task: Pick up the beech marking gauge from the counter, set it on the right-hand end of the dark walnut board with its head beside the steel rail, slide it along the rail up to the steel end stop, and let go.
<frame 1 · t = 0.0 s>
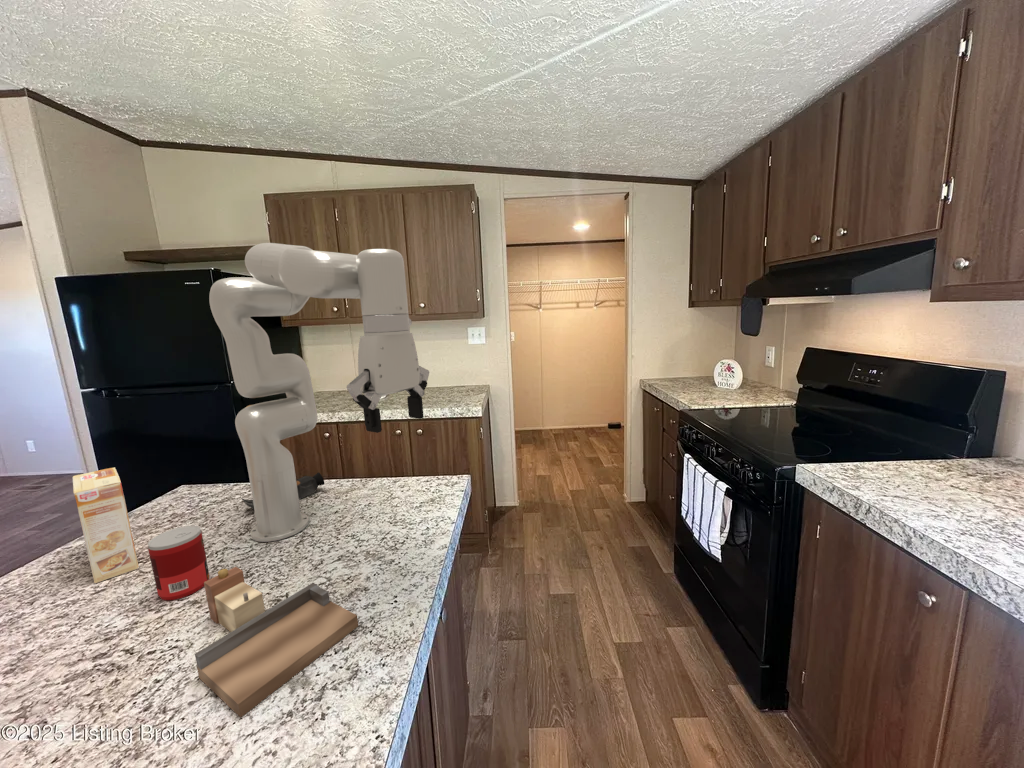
hand: (396, 424, 73), 31 cm above the counter, fingers open, 9 cm apart
canned food: (185, 588, 80), on the counter
gauge: (239, 618, 71), on the counter
hammer: (287, 501, 118), on the counter
coffeecake box: (114, 563, 90), on the counter
board: (284, 650, 64), on the counter
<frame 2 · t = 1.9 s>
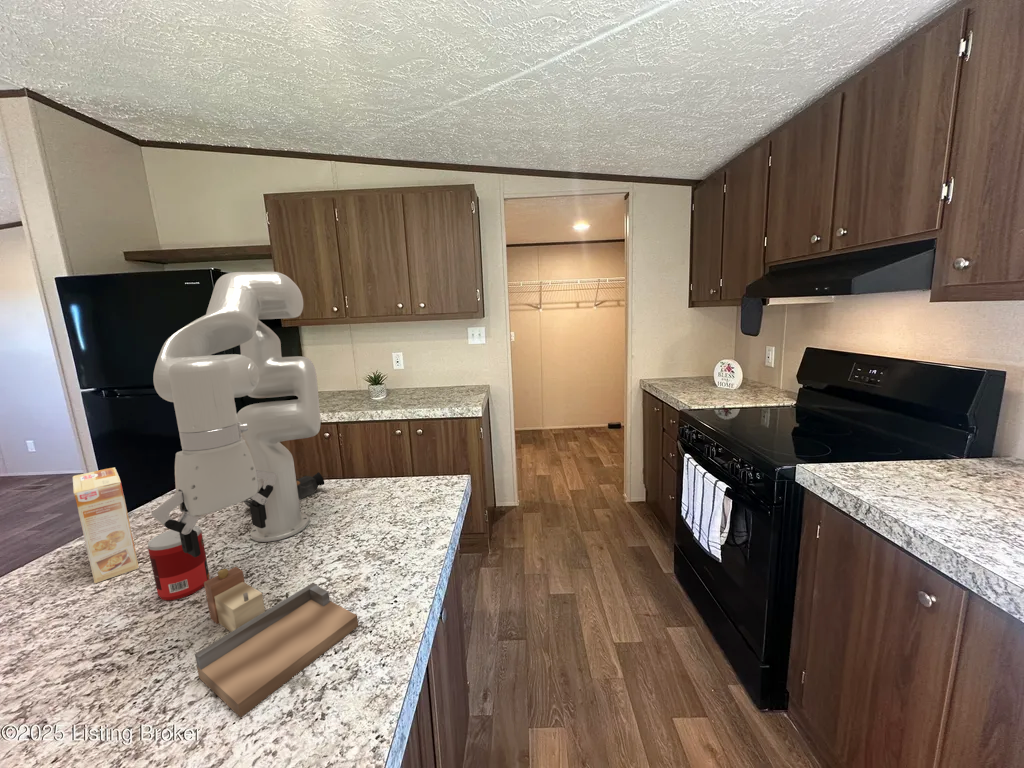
hand: (228, 539, 68), 15 cm above the counter, fingers open, 9 cm apart
nothing on the counter moved.
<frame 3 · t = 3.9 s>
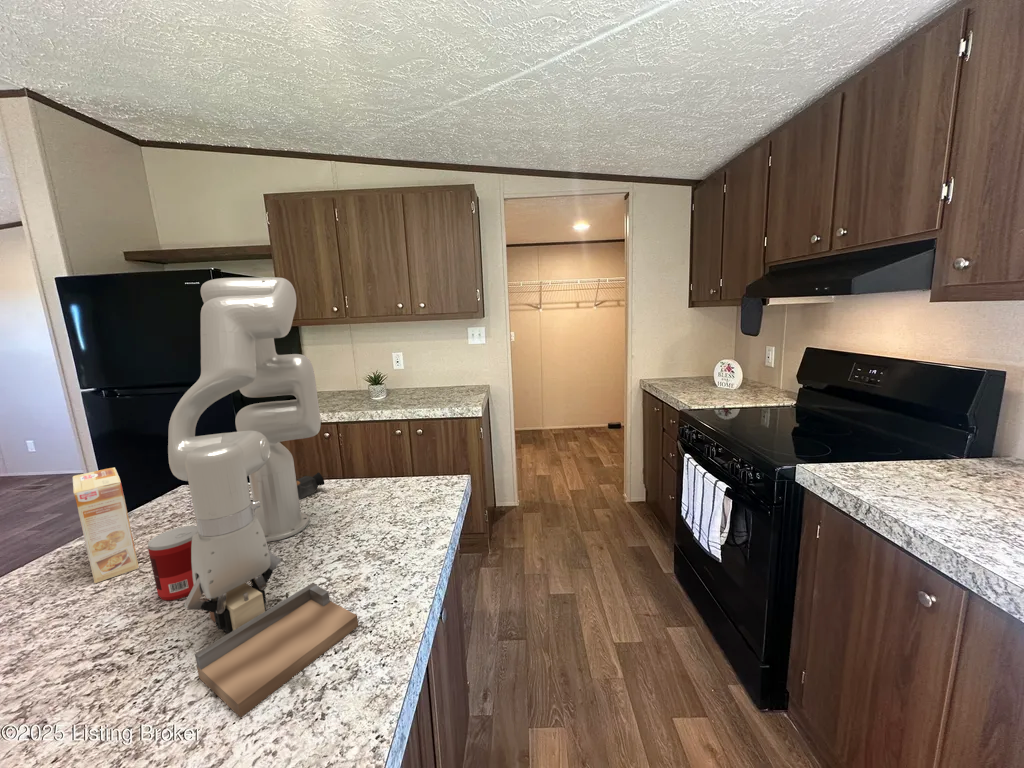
hand: (243, 618, 70), 1 cm above the counter, fingers closed on gauge, 4 cm apart
gauge: (239, 618, 71), on the counter, touching gripper
everything else where it was.
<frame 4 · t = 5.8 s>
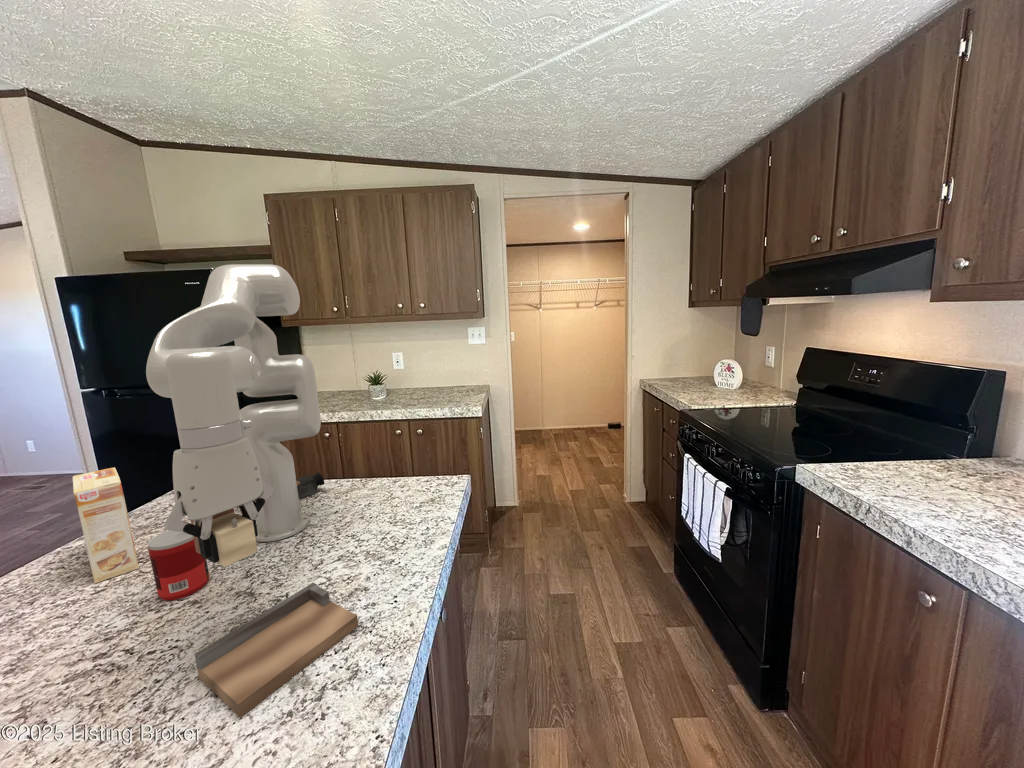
hand: (231, 550, 63), 16 cm above the counter, fingers closed on gauge, 4 cm apart
gauge: (227, 551, 64), point 15 cm above the counter, touching gripper
everything else where it was.
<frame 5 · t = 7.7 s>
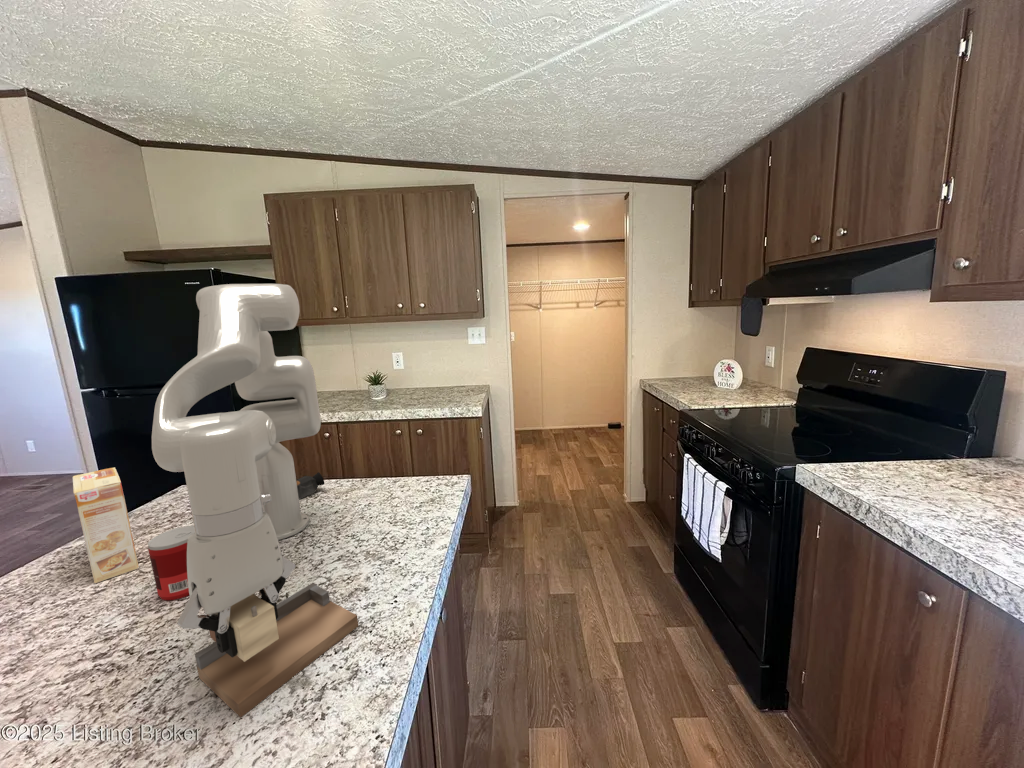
hand: (250, 637, 57), 7 cm above the counter, fingers closed on gauge, 4 cm apart
gauge: (245, 637, 58), point 6 cm above the counter, touching gripper
everything else where it was.
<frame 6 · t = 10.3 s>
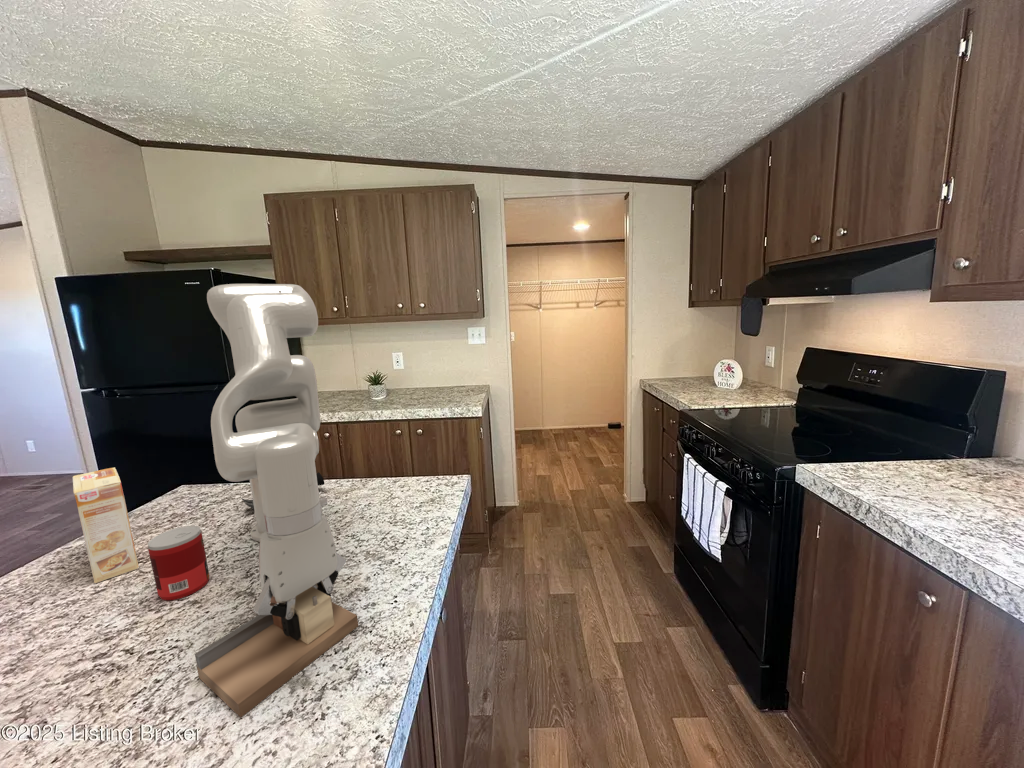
hand: (309, 623, 65), 3 cm above the counter, fingers closed on gauge, 4 cm apart
gauge: (304, 623, 66), point 2 cm above the counter, touching gripper
everything else where it was.
when the fingers open (3 cm above the counter, at t = 11.8 s): gauge stays where it is, resting on board.
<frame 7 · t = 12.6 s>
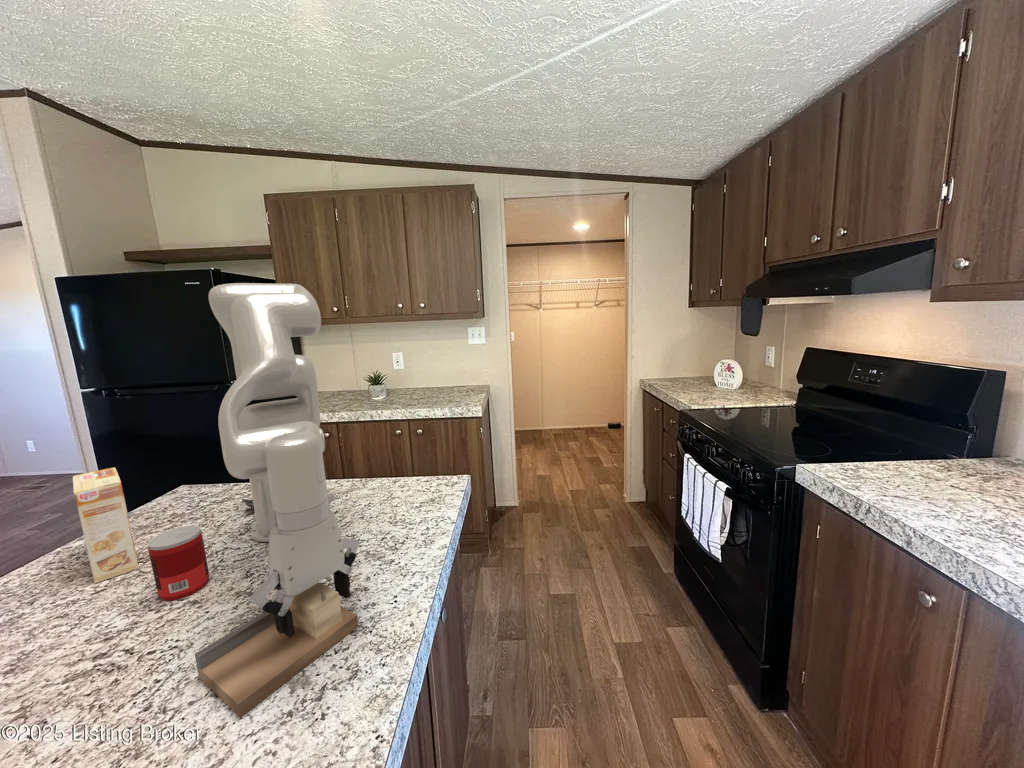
hand: (316, 613, 66), 4 cm above the counter, fingers open, 9 cm apart
gauge: (312, 619, 67), point 2 cm above the counter, touching board
everything else where it was.
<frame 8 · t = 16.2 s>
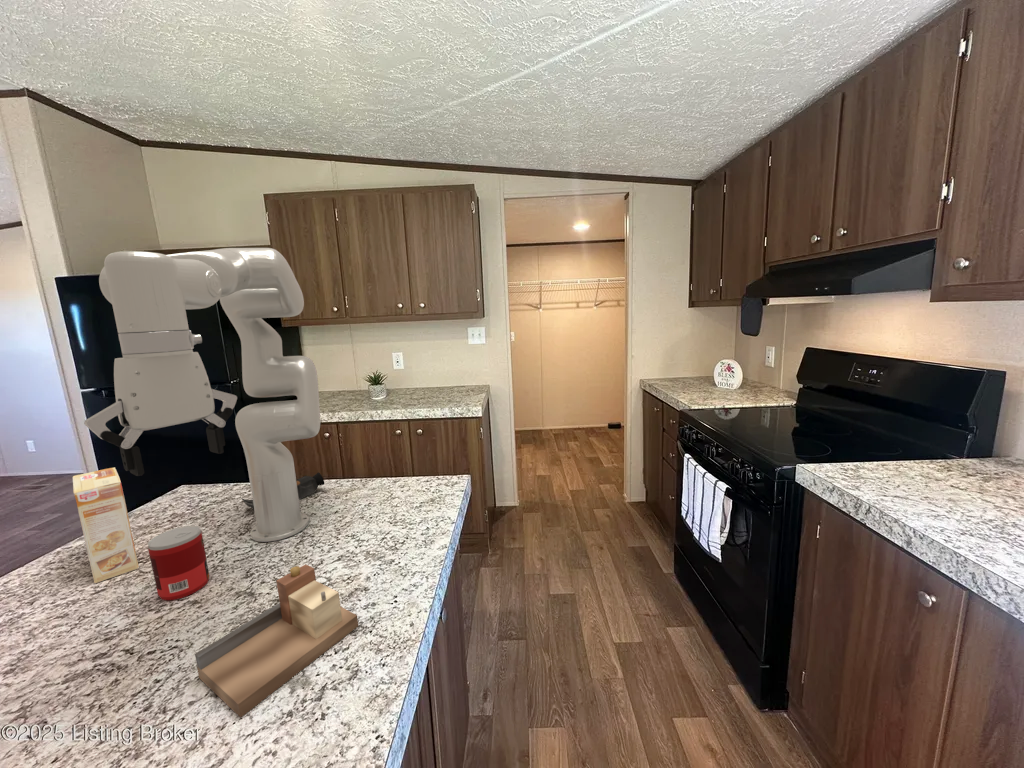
hand: (179, 462, 60), 30 cm above the counter, fingers open, 9 cm apart
nothing on the counter moved.
at the end: gauge 0.1 cm from the target spot on the board, point 2.0 cm above the board's base; gauge tilted 0°; the gripper is holding nothing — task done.
